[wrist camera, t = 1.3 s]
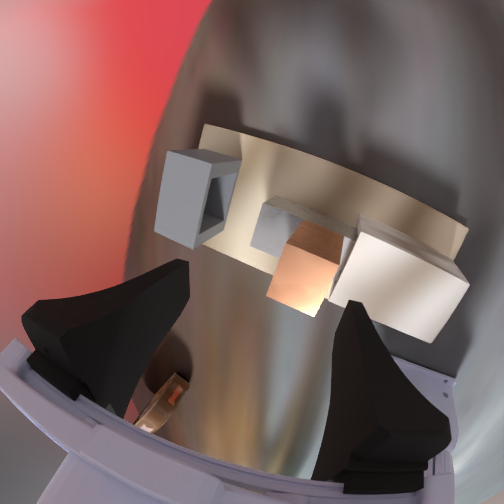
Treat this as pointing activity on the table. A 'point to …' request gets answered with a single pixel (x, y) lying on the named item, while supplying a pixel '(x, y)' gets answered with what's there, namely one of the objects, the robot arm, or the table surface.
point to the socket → (195, 195)
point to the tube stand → (354, 214)
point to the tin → (162, 404)
